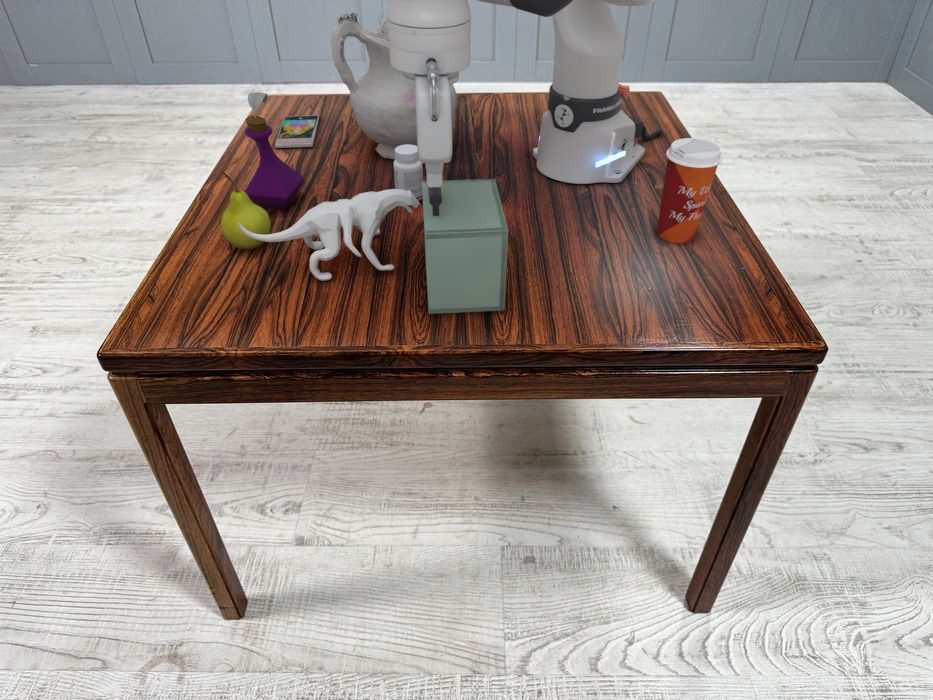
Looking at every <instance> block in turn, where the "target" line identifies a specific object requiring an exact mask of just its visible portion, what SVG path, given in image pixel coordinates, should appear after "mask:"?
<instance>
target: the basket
mask: <svg viewBox="0 0 933 700" xmlns="http://www.w3.org/2000/svg"><path fill="white" fill-rule="evenodd" d="M442 181H443V184H442V186H441V187H429V186H428V185H427V180H423V181H422V195H423V198H422V213H423V214H422V215H423V234H424V236H423V237H424V254H425V274H426V290H427V307H428V308H427V311H428V315H433V314H437V315H438V314H456V313H476V312H478V313H479V312H480V313H481V312H496V311H498V312H499V311H501V312H502V311H505V307H506V306H505V305H506V285H507V266H508V265H507V263H508V244H509V243H508V241H509V229H508V224H507V220H506V217H505V212H504V208H503V205H502V200H501V196H500V192H499V189H498V185H497V181H496V179H495V178H484V179H483V178H482V179H468V180H467V179H456V180H455V179H453V180H442Z"/></svg>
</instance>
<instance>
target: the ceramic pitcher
mask: <svg viewBox="0 0 933 700" xmlns="http://www.w3.org/2000/svg"><path fill="white" fill-rule="evenodd" d="M358 16H359V14H358V13H355V12H353V11H352V12H351V13H345V14H341V15H340V16H339V17H336V19H337V23H336V24H335V26H334V28H333V30H332V32H331V39H330V47H331V55H332V59H333V63H334V67H335V69H336V70H337V72H338V74H339V76H340V79H341V80H342V83H343V84H344V85H345V86H346V87H347V89H348V91H349V101H350V107H351V109H352V110H353V115H354V118H355V121H356V122H357V125H358V126H359V128H360V129H361V130H362V131H363V133H364V134H365V135H366V136H367V137H368V138H369V139H370V140H371V141H374V142H375V143H377V145H376V147H375V148H374V150H375V151H376V152H377V153H378V154H379V156H380V157H382V158H384V159H391V160H395V159H396V158H395V148H396V147H398V146H400V145H406V144H410V145H415V146H417V128H416V110H415V97H414V91H413V86H411V85H409V84H407V83H405V82H404V81H403V79H402V72H401V71H398V70H396V69H395V68H393V67H392V66H391V64H390V50H389V35H388V18H387V16H384V17H383V18H381V19H380V21H379V22H378V23H377V24H376V25H375V28H374V29H373V31H371V30H369V29H363V27H362V26H361V24H360V23H359V21H358ZM348 37H349V38H350V37H354V38H356V39H357V40H358V41H359V42H360V43H362V44H364V45H365V48H366V51H367V55H368V59H369V60H368V61H369V65H368V68H367V71H366V73H364V74H363V75H362V76H361V77H360V78H359V79H358V80H357V81H356V80H355V77H354V74H353V71H352V70H351V68H350V66H349V65H348V62H347V60H346V57H345V42H346V39H347V38H348ZM449 87H450V93H451V104H452V122H453V121H454V118H455V114H456V109H457V99H458V98H457V91H456V88H455V86H454V84H452V85H449Z"/></svg>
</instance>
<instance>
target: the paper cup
mask: <svg viewBox="0 0 933 700" xmlns="http://www.w3.org/2000/svg"><path fill="white" fill-rule="evenodd" d="M721 153H722V152H721V149H720V147H719V146H718V145H717V144H716V143H714V142H711V141H709V140H706V139H702V138H695V137H685V138H679V139H676V140H674V141H672V143H671V144H670V147H669V148H668V149H667V150H666V153H665V155H666V157H667V160H666V168H665V173H664V181H663V186H662V194H661V199H660V206H659V207H660V208H659V215H658V222H657V235H658V237H660V238H661V239H663V240H664V241H666V242H669V243H673V244H686V243H687V244H688V243H689V242H691V241H693V239H694V238H695V235H696V232H697V229H698V227H699V224H700V221H701V218H702V215H703V212H704V210H705V209H704V208H705V206H706V203H707V199H708V196H709V194H710V191H711V188H712V184H713V183H714V179H715V175H716V172H717V169H718V166H719V165H720V164H721V163H722V162H723V161H722V160H723V157H722V155H721Z"/></svg>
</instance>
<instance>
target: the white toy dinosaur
mask: <svg viewBox="0 0 933 700" xmlns="http://www.w3.org/2000/svg"><path fill="white" fill-rule="evenodd" d="M420 204H421V203H420V202H419V201H417V199H416V198H415V196H414V195H413V193H412V192H411V191H410V190H409V191H405V190H401V189H395V188H390V189H389V188H388V189H384V190H379V191H372V190H371V191H366V192H360V193H358V194H356V195H355V196H352V197H351V199H348V198H341V199H340V198H339V199H338V200H336V201H323V202H321V203H319V204H317V205H315V206H314V207H311V208H310V209H308V210H307V211H306V212H305V213H304V214H303V216H301V217H300V218H299V219H298V220H297V221H296V222H295V223H294V224H293V225H292V226H290V227H289V228H286V229H285V230H282V231H278V232H275V233H274V232H273V233H270V234H268V235H263V234H255V233H252V232H250V231H248V230H247V229H245V228H244V227H243V226H242V225H241V224H240V223H238V224H239V226H240V228H241V229H242V231H243V232H244V233H245V234H246V235H247V236H249V237H251V238H254V239H257V240H261V241H264V242H266V243H278V242H279V243H280V242H287V241H292V240H297V239H303V241H304V243H305V244H306V245H307V246H308V247H309V248H310V249H311V250H314V251H313V253H312V254H310V257H309V271H310V272H311V274H312V275H313V276H314V277H315V279H317V280H318V281H321V282H324V281H325V282H326V281H330V280H332V278H333V274H332V273H331V272H327V271H326V272H321V271H320V269H319V267H318V266H319V261H324V262H327V261H330V260H333V259H334V258H336V257H337V256H338V255H339V254H340V251H341V245H342V239H341V230H343V231H342V232H343V243H344V245H345V246H346V247H347V248H348V250H350V251H351V252H352V253H353V254H354V256H356V257H357V258H358V257H359V258H362V254H361V253H360V252H359V250H357V248H356V247H355V246H354V243H353V238H352V234H353V226H354V227H355V228H356V229H357V230H358V231H360V233H362V237H361V242H360V245H361V249H362V251H363V253H364V254H365V256H366V258H367V260H369V262H370V263H371V264H372V265H373V267H375V268H376V269H377V270H378V271H394V269H395V266H394V264H391V263H390V264H385V265H382V264H381V263H380V260H379V259H378V257H377V255H376V254H375V253H374V251H373V249H372V242H373V239H374V237H375V236H377V235H380V234H381V230H380V226H381V223H382V222H383V221H384V219H385V217H386V216H387V214H388V213H389V212H391V211H392V210H393V209H395V208H396V207H403V208H404V209H405V210H406V212H407V213H409V214H414V211H413V209H418V207H419V206H420ZM411 206H412V207H413V209H412V207H411ZM313 237H316V238H319V240H317V241H313Z"/></svg>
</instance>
